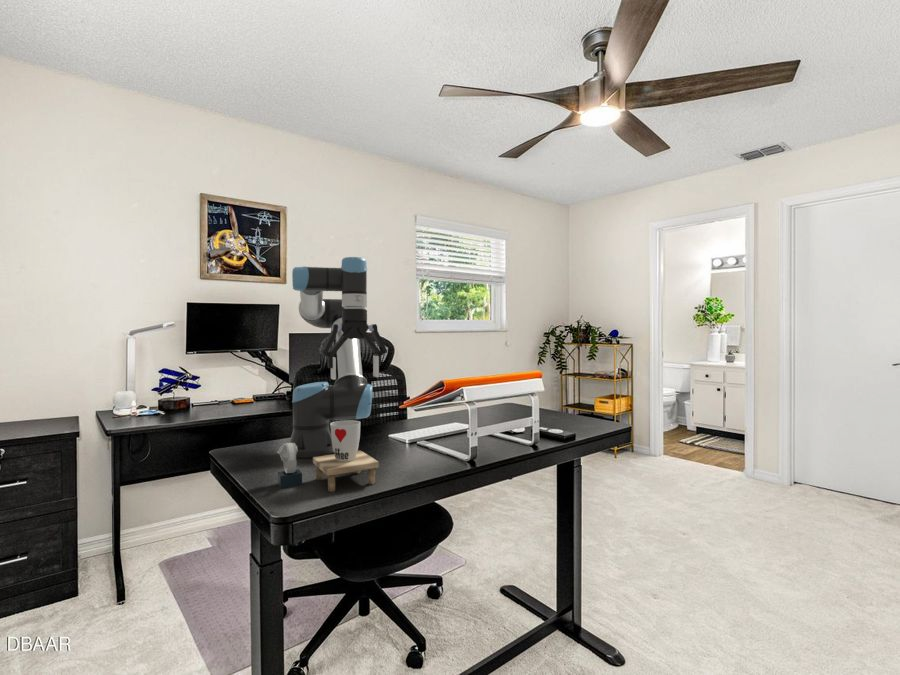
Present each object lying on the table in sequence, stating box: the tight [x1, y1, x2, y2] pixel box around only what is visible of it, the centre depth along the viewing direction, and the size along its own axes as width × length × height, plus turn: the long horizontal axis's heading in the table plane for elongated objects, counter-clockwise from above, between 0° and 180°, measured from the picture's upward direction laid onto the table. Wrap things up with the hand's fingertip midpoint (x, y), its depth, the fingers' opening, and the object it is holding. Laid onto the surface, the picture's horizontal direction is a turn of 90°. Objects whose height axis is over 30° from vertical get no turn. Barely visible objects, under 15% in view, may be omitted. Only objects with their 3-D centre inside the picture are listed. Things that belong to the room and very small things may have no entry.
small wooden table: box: [312, 450, 380, 493], centre depth 131 cm, size 14×14×6 cm
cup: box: [329, 419, 361, 462], centre depth 131 cm, size 8×8×10 cm
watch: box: [277, 442, 303, 489], centre depth 129 cm, size 6×8×11 cm
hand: (355, 377), depth 147 cm, fingers open, 13 cm apart
